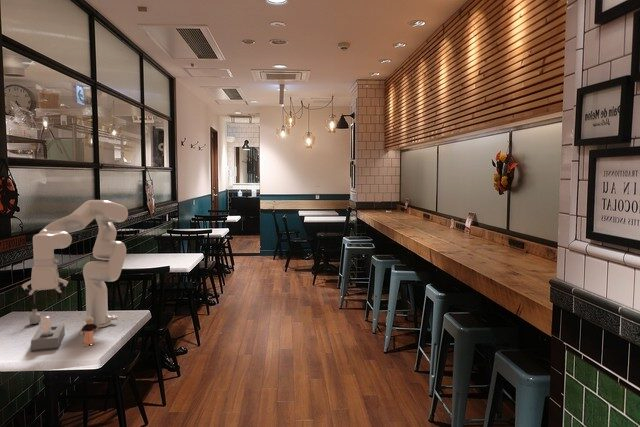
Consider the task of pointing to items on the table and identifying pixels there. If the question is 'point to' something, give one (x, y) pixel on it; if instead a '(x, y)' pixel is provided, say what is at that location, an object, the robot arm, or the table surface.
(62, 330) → the hole block
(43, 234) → the robot arm
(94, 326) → the grandmother figurine
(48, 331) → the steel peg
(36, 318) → the reed diffuser
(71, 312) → the table surface
